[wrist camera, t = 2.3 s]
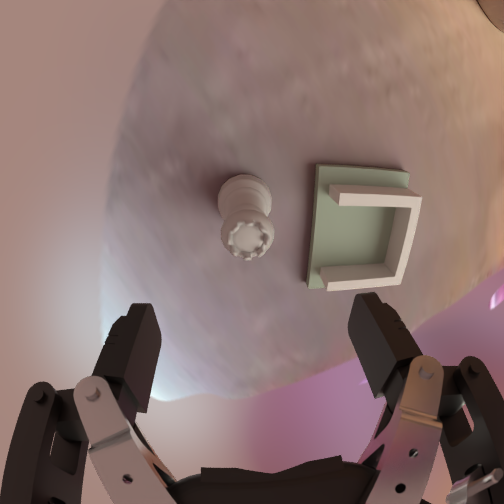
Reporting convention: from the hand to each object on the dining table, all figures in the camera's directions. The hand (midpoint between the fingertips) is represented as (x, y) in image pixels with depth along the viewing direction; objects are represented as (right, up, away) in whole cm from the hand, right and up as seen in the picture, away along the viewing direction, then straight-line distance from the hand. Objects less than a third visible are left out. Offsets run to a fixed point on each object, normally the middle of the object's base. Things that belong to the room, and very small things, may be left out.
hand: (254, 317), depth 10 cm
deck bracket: (+10, +5, +14) cm, 18 cm away
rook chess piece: (-1, +7, +13) cm, 14 cm away
